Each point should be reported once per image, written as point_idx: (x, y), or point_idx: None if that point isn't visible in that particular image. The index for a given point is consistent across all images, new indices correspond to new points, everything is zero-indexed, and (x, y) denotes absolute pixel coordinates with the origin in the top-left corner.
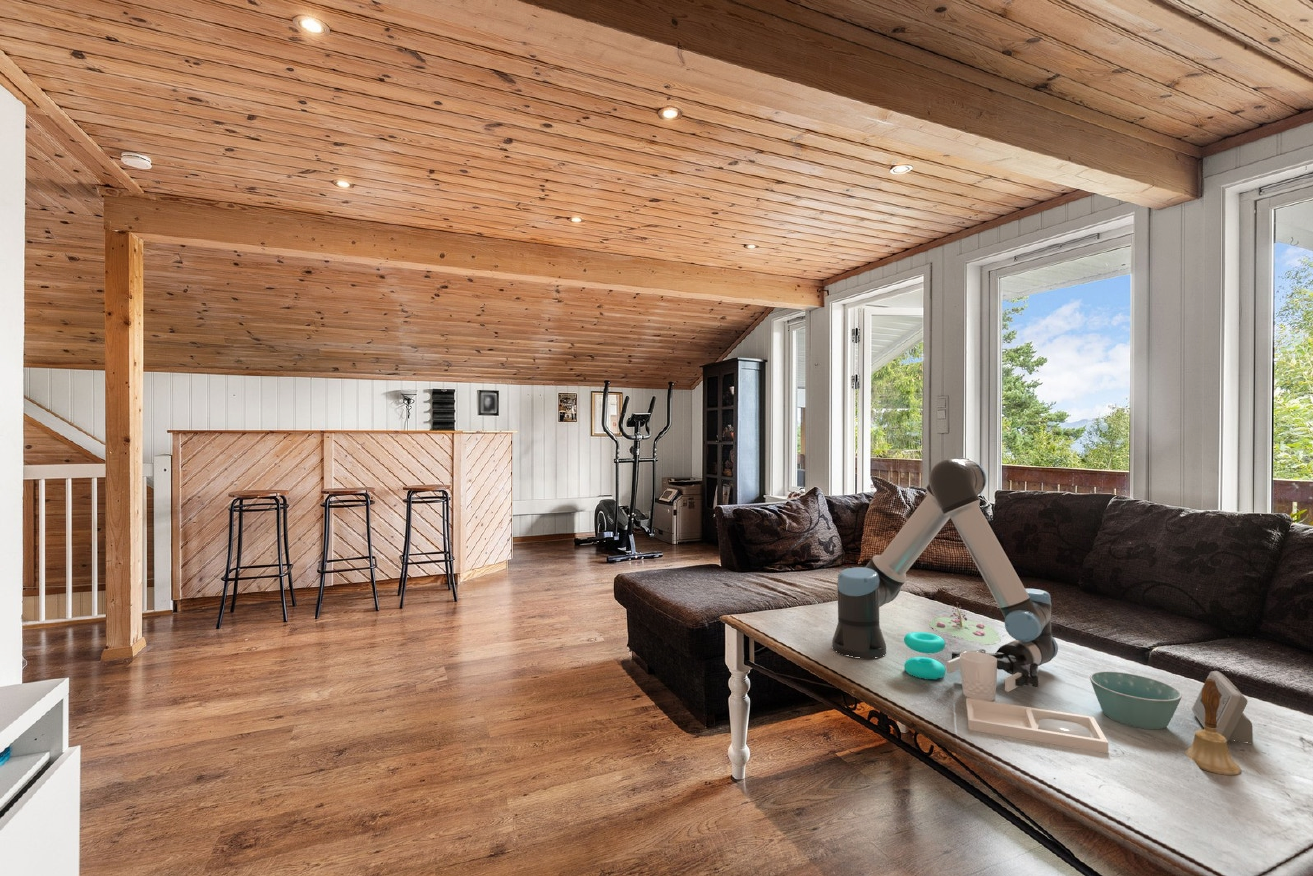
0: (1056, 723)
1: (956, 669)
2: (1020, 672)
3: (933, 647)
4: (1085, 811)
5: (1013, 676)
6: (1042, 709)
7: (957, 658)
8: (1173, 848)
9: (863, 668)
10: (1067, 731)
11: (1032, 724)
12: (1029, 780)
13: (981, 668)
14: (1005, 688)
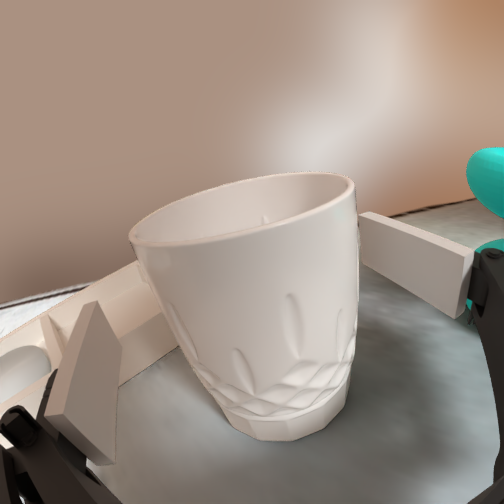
0: (14, 385)
1: (399, 278)
2: (66, 460)
3: (475, 177)
4: (22, 298)
5: (71, 341)
6: (29, 394)
7: (425, 235)
8: None
9: (488, 224)
10: (1, 371)
11: (46, 322)
12: (59, 289)
13: (179, 230)
14: (115, 339)
